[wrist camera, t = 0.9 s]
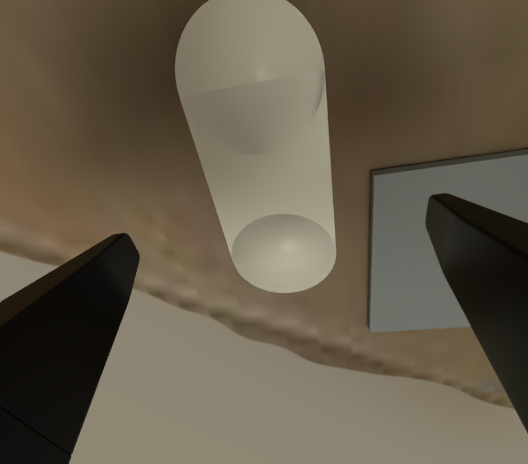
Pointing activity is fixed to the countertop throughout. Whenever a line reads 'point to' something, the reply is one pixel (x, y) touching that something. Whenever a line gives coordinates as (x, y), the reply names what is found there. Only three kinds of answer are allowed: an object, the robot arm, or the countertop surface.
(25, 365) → the robot arm
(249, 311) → the countertop surface
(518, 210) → the mat
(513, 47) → the countertop surface
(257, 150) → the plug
